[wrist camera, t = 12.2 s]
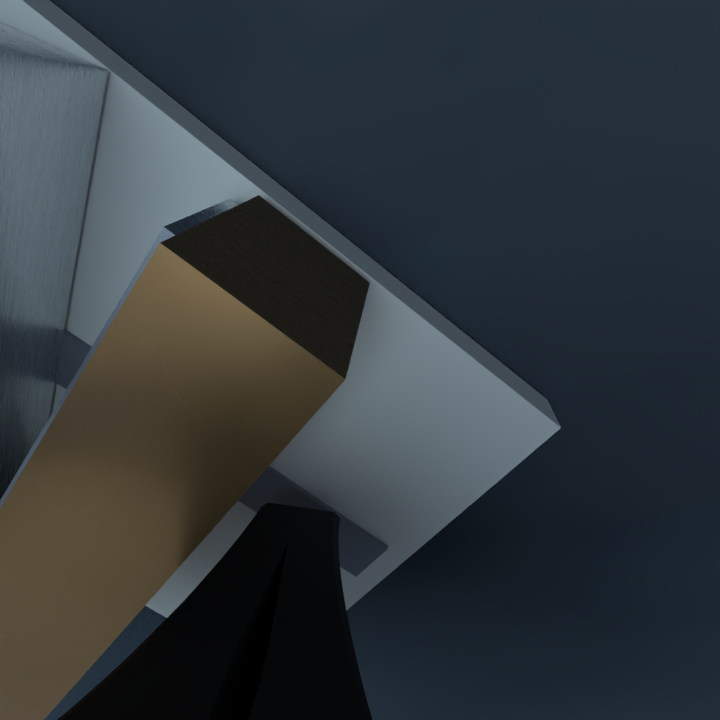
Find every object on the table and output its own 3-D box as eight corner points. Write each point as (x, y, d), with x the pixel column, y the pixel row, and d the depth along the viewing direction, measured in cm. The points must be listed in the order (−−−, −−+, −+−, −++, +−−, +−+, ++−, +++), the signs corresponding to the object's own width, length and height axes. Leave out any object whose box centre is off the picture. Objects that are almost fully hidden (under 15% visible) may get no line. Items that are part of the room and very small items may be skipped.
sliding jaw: (369, 283, 8) (344, 378, 5) (108, 599, 11) (0, 768, 8) (241, 180, 7) (129, 219, 4) (9, 543, 11) (-142, 700, 8)
